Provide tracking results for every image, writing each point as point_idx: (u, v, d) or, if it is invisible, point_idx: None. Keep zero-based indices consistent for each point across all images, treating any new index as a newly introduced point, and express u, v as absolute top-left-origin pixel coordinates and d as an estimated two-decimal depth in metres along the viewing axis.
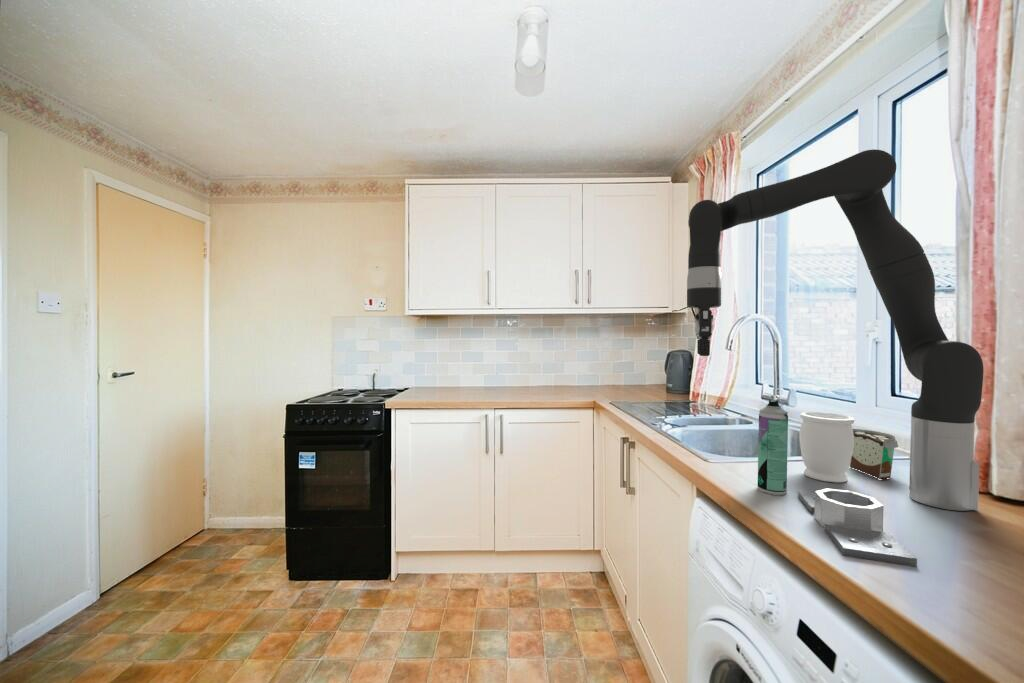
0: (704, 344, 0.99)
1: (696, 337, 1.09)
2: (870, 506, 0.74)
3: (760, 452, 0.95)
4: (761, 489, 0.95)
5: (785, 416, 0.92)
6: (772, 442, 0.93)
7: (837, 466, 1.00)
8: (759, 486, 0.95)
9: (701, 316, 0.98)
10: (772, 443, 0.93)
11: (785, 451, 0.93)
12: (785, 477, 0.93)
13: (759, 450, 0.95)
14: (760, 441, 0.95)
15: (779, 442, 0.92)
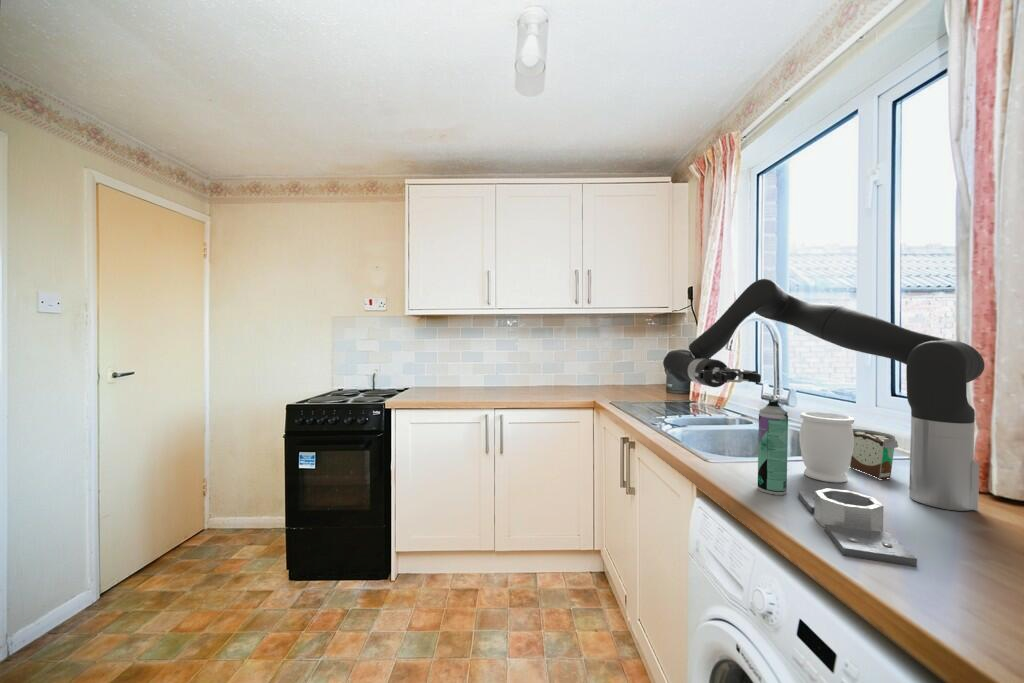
0: (715, 377, 1.08)
1: (749, 381, 1.10)
2: (870, 506, 0.74)
3: (760, 452, 0.95)
4: (761, 489, 0.95)
5: (785, 416, 0.92)
6: (772, 442, 0.93)
7: (837, 466, 1.00)
8: (759, 486, 0.95)
9: (696, 377, 1.14)
10: (772, 443, 0.93)
11: (785, 451, 0.93)
12: (785, 477, 0.93)
13: (759, 450, 0.95)
14: (760, 441, 0.95)
15: (779, 442, 0.92)
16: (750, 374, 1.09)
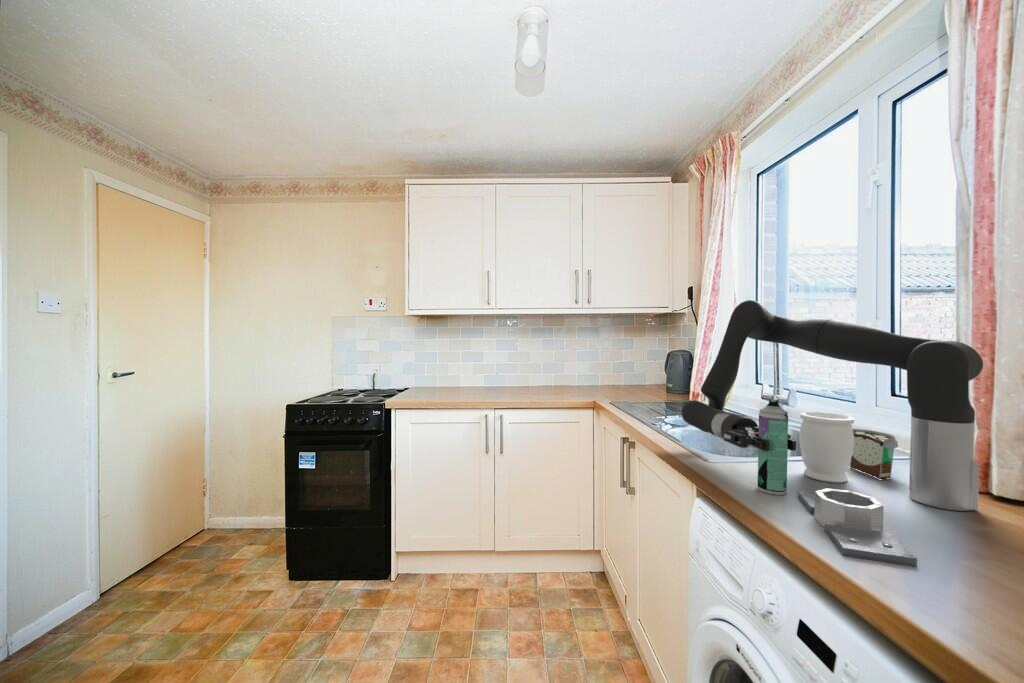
0: (755, 443, 0.95)
1: None
2: (870, 506, 0.74)
3: (760, 452, 0.95)
4: (761, 489, 0.95)
5: (785, 416, 0.92)
6: (772, 442, 0.93)
7: (837, 466, 1.00)
8: (759, 486, 0.95)
9: (728, 440, 1.00)
10: (772, 442, 0.93)
11: (785, 451, 0.93)
12: (785, 477, 0.93)
13: (759, 450, 0.95)
14: None
15: (779, 442, 0.92)
16: None
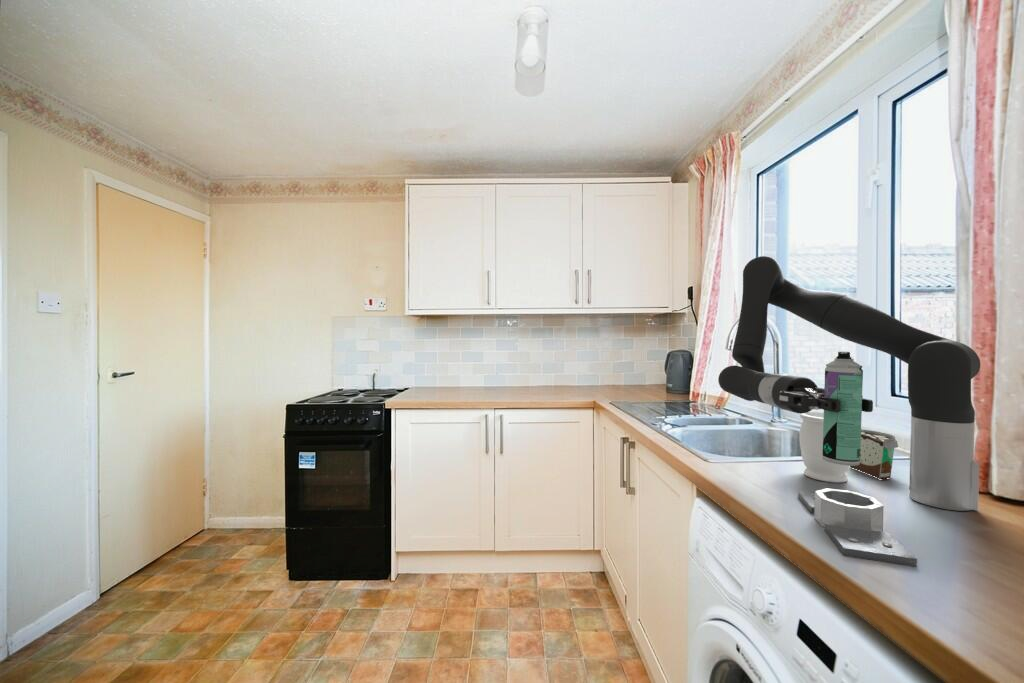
0: (821, 404, 0.79)
1: None
2: (870, 506, 0.74)
3: (827, 414, 0.79)
4: (828, 459, 0.79)
5: (860, 370, 0.76)
6: (843, 402, 0.77)
7: (837, 466, 1.00)
8: (825, 455, 0.79)
9: (784, 402, 0.84)
10: (844, 402, 0.77)
11: (859, 412, 0.77)
12: (859, 444, 0.77)
13: (826, 412, 0.79)
14: None
15: (853, 402, 0.76)
16: None
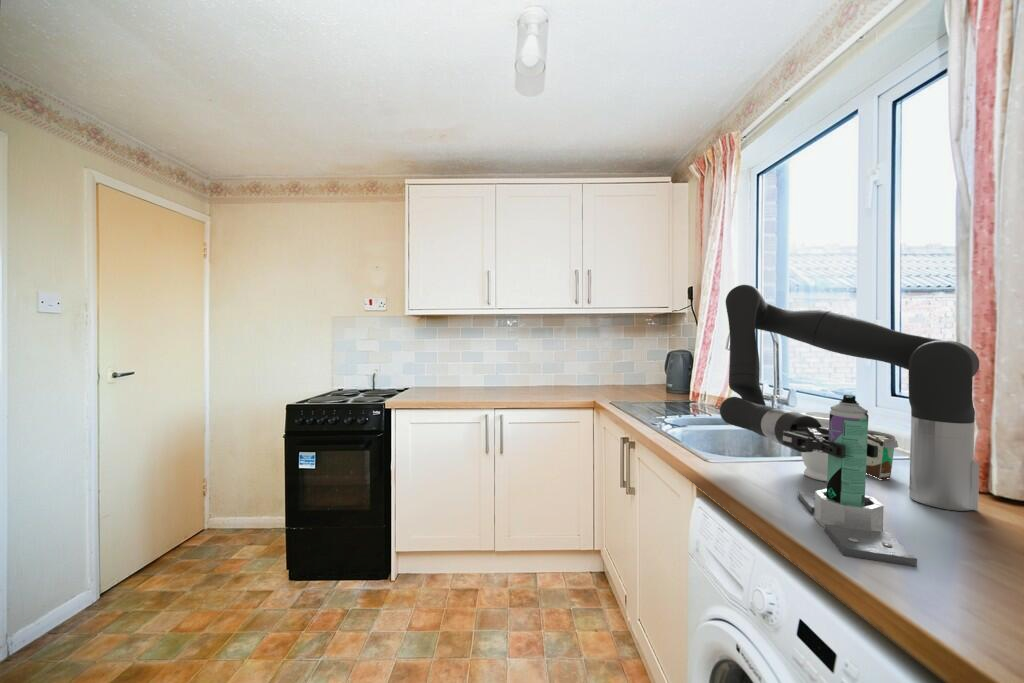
0: (825, 448, 0.78)
1: None
2: (870, 506, 0.74)
3: (832, 459, 0.78)
4: None
5: (865, 415, 0.75)
6: (848, 447, 0.76)
7: None
8: None
9: (788, 443, 0.83)
10: (849, 448, 0.76)
11: (864, 458, 0.76)
12: (864, 490, 0.76)
13: (830, 456, 0.78)
14: None
15: (858, 448, 0.75)
16: None
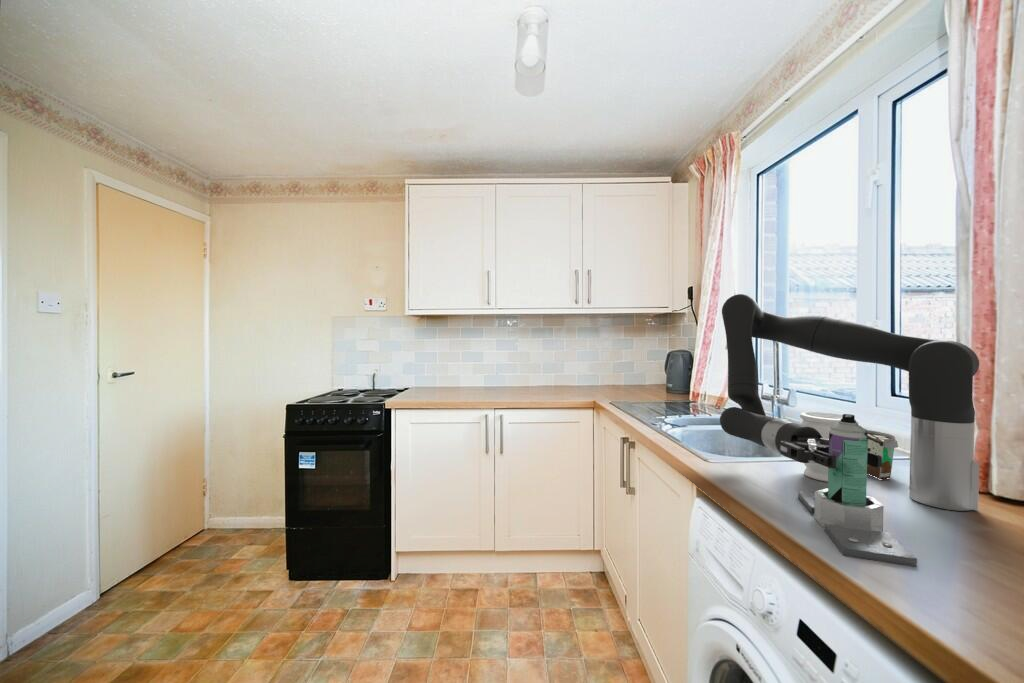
0: (817, 458, 0.78)
1: None
2: (870, 506, 0.74)
3: (832, 478, 0.78)
4: None
5: (865, 435, 0.75)
6: (848, 467, 0.76)
7: None
8: None
9: (784, 453, 0.84)
10: (849, 467, 0.76)
11: (865, 478, 0.76)
12: None
13: (830, 476, 0.78)
14: None
15: (858, 467, 0.75)
16: None
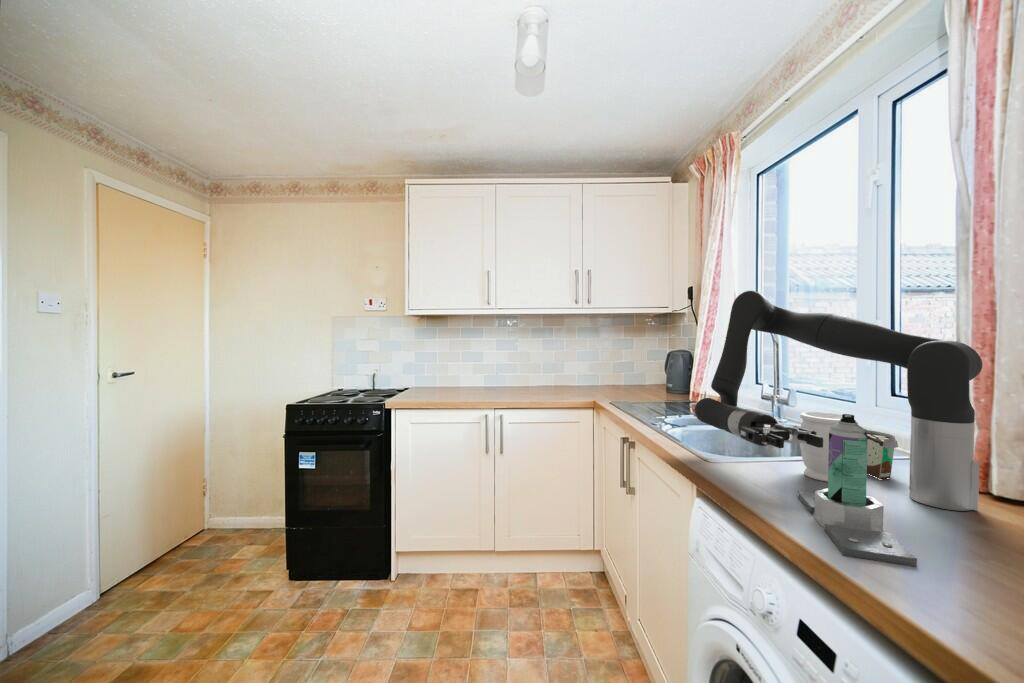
0: (768, 440, 0.91)
1: (807, 443, 0.93)
2: (870, 506, 0.74)
3: (832, 478, 0.78)
4: None
5: (865, 435, 0.75)
6: (848, 467, 0.76)
7: None
8: None
9: (743, 436, 0.97)
10: (848, 467, 0.76)
11: (864, 478, 0.76)
12: None
13: (830, 476, 0.78)
14: (832, 465, 0.78)
15: (858, 467, 0.75)
16: (809, 436, 0.92)
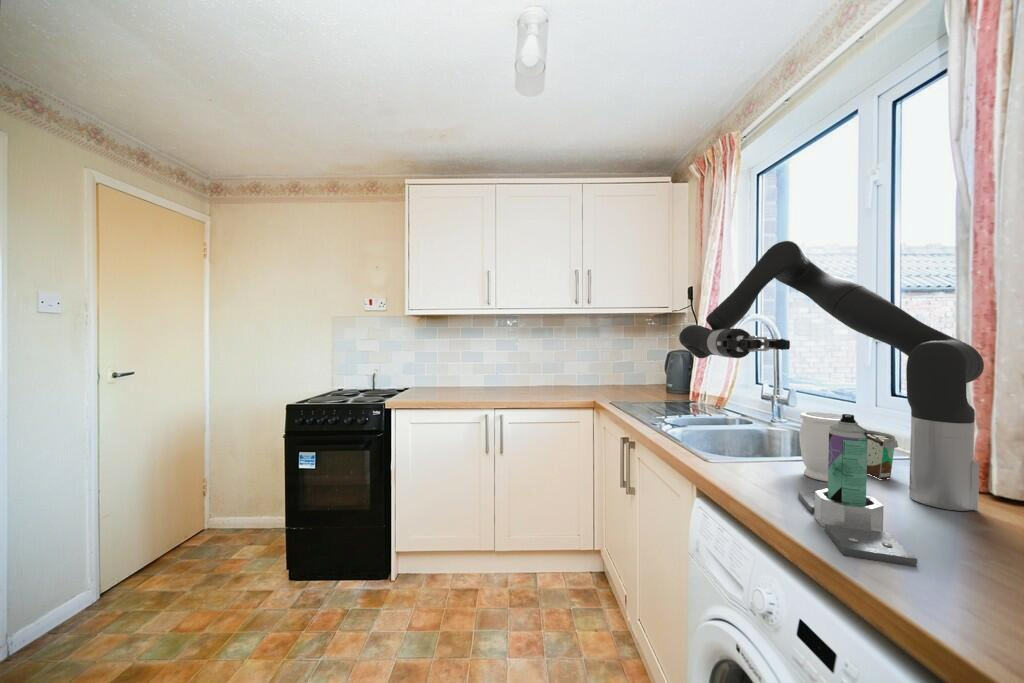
0: (740, 344, 1.00)
1: (776, 349, 1.02)
2: (870, 506, 0.74)
3: (832, 478, 0.78)
4: None
5: (865, 435, 0.75)
6: (848, 467, 0.76)
7: None
8: None
9: (719, 346, 1.06)
10: (848, 467, 0.76)
11: (864, 478, 0.76)
12: None
13: (830, 476, 0.78)
14: (832, 465, 0.78)
15: (858, 467, 0.75)
16: (778, 341, 1.01)
